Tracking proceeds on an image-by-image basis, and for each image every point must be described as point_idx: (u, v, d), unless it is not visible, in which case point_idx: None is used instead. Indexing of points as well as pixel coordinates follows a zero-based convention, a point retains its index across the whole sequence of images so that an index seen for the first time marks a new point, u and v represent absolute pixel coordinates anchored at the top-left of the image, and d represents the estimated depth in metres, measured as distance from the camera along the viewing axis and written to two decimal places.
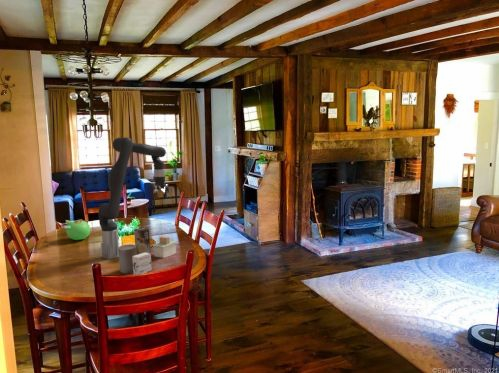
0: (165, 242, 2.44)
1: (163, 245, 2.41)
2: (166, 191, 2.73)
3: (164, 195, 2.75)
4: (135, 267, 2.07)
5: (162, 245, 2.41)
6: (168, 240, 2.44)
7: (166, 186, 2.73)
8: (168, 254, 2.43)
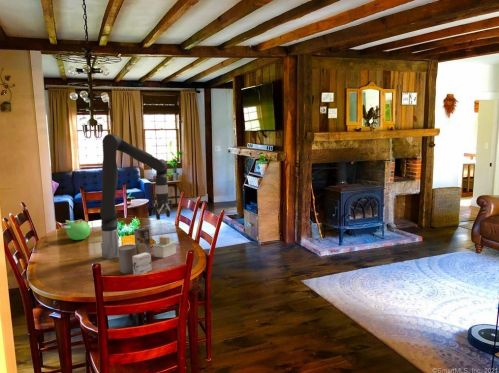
0: (165, 242, 2.44)
1: (163, 245, 2.41)
2: None
3: (169, 212, 2.47)
4: (135, 267, 2.07)
5: (162, 245, 2.41)
6: (168, 240, 2.44)
7: None
8: (168, 254, 2.43)
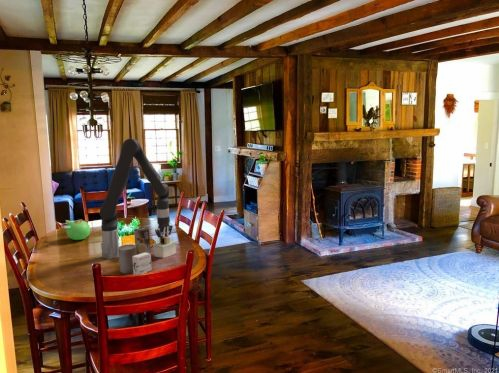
0: (165, 242, 2.43)
1: (163, 245, 2.41)
2: (170, 232, 2.48)
3: None
4: (135, 267, 2.07)
5: (162, 245, 2.41)
6: (168, 240, 2.44)
7: (171, 227, 2.49)
8: (168, 254, 2.43)
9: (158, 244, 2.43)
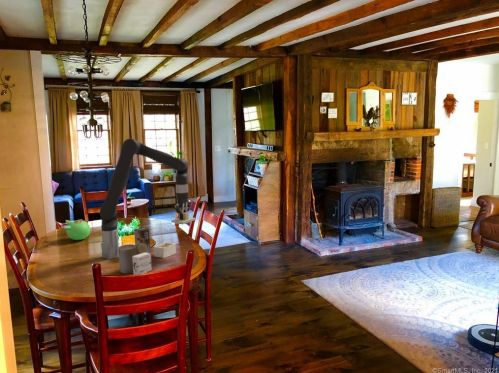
0: (184, 218, 2.42)
1: (182, 220, 2.40)
2: None
3: None
4: (135, 267, 2.07)
5: (181, 220, 2.39)
6: (187, 216, 2.43)
7: None
8: (168, 254, 2.43)
9: (177, 220, 2.42)
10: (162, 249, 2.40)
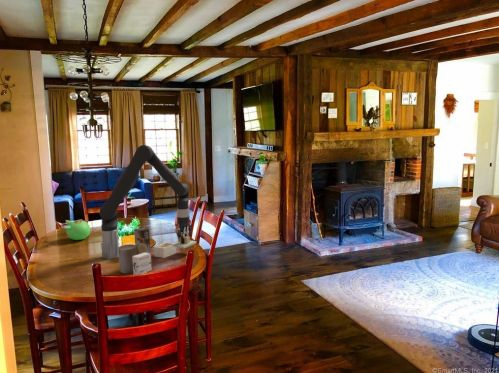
0: (185, 242, 2.44)
1: (183, 245, 2.42)
2: (190, 232, 2.49)
3: None
4: (135, 267, 2.07)
5: (183, 245, 2.42)
6: (188, 240, 2.45)
7: None
8: (168, 254, 2.43)
9: (178, 244, 2.44)
10: (162, 249, 2.40)
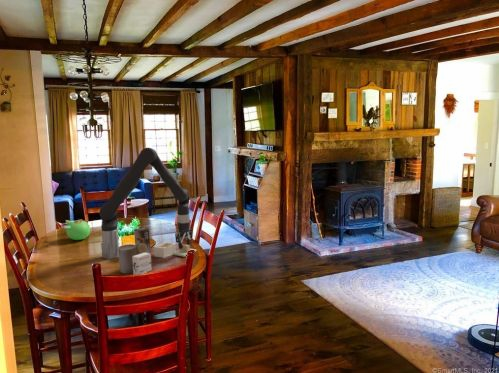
0: (185, 250, 2.45)
1: (184, 253, 2.43)
2: (192, 236, 2.51)
3: (189, 241, 2.50)
4: (135, 267, 2.07)
5: (183, 253, 2.42)
6: (188, 248, 2.46)
7: None
8: (168, 254, 2.43)
9: (178, 252, 2.45)
10: (162, 249, 2.40)
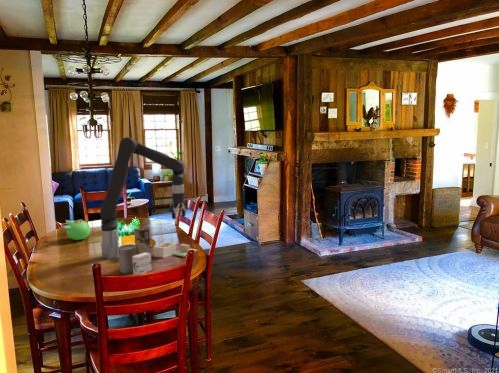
0: (185, 250, 2.45)
1: (184, 253, 2.43)
2: (187, 207, 2.51)
3: (184, 212, 2.50)
4: (135, 267, 2.07)
5: (183, 253, 2.42)
6: (188, 248, 2.46)
7: (186, 201, 2.51)
8: (168, 254, 2.43)
9: (178, 252, 2.45)
10: (162, 249, 2.40)
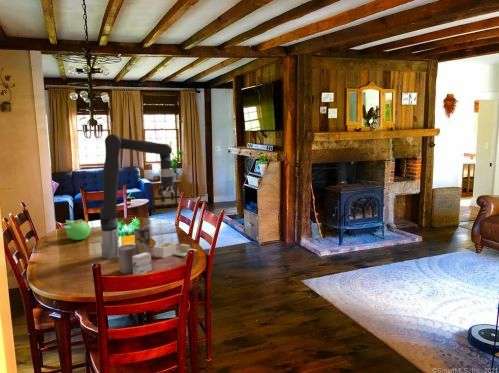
0: (185, 250, 2.45)
1: (184, 253, 2.43)
2: (176, 190, 2.58)
3: (173, 195, 2.56)
4: (135, 267, 2.07)
5: (183, 253, 2.42)
6: (188, 248, 2.46)
7: (175, 185, 2.57)
8: (168, 254, 2.43)
9: (178, 252, 2.45)
10: (162, 249, 2.40)
